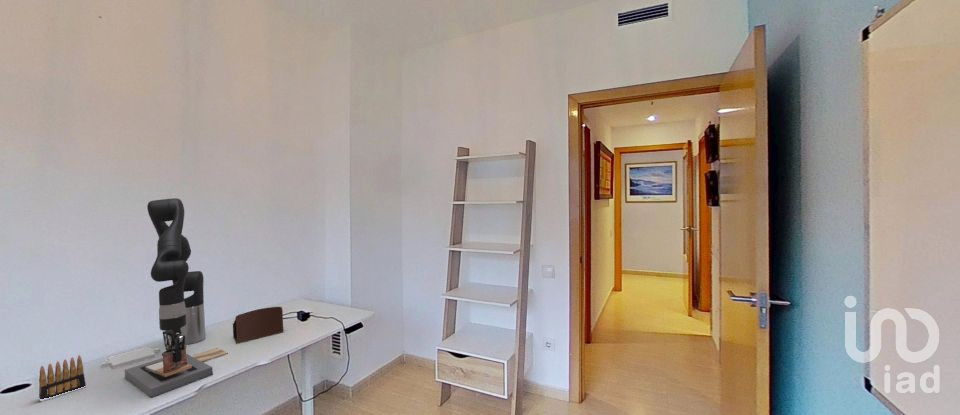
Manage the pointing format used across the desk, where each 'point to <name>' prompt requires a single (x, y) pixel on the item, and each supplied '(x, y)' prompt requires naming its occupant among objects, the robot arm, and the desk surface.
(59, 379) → the ammunition clip
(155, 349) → the mounting plate
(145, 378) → the gray rectangular recessed tray
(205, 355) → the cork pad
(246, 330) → the letter holder
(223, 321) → the desk surface
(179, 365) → the lighter
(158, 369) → the two-tone tile
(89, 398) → the desk surface
